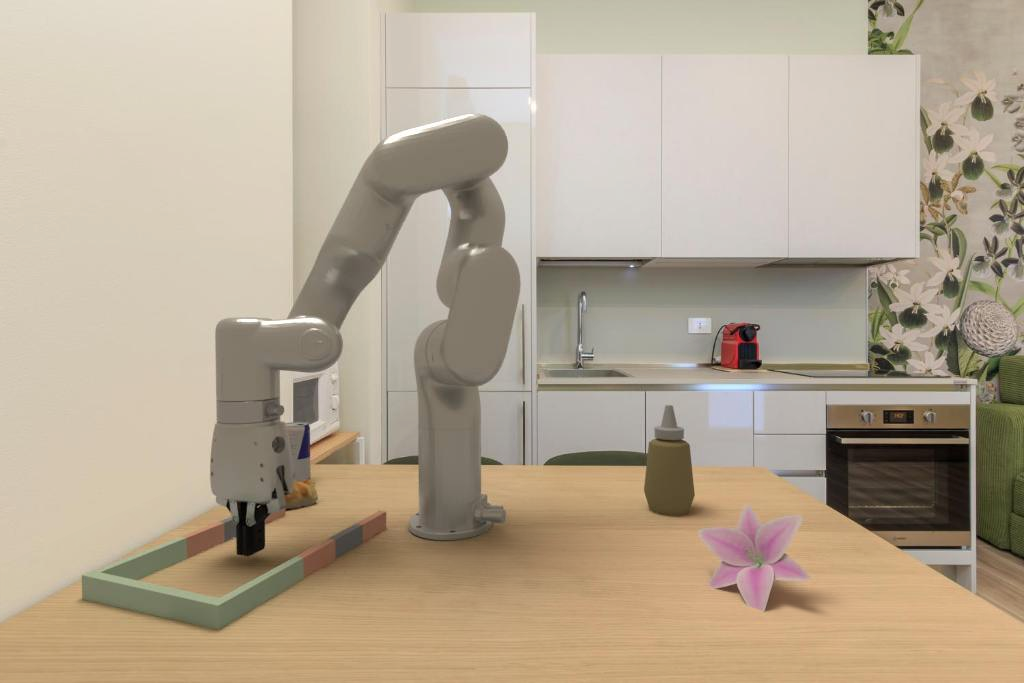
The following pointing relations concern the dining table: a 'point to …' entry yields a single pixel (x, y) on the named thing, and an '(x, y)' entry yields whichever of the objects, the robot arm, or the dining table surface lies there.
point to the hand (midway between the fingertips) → (251, 551)
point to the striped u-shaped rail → (127, 592)
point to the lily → (754, 555)
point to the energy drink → (300, 449)
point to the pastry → (301, 494)
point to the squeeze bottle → (669, 469)
